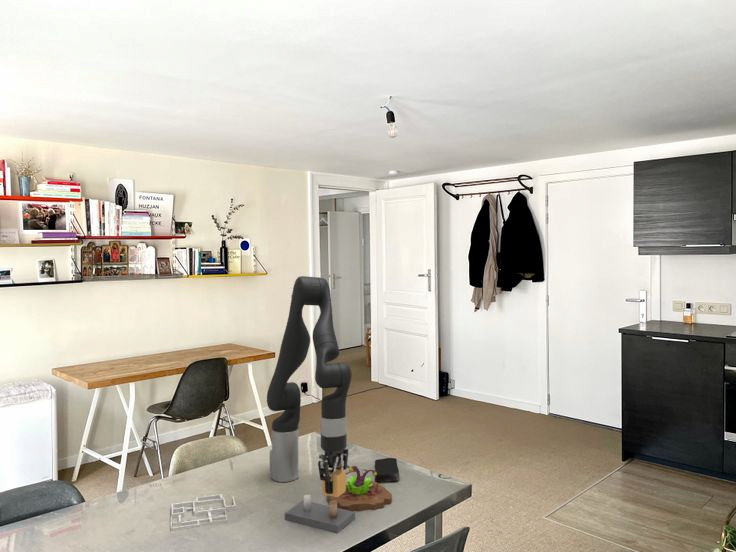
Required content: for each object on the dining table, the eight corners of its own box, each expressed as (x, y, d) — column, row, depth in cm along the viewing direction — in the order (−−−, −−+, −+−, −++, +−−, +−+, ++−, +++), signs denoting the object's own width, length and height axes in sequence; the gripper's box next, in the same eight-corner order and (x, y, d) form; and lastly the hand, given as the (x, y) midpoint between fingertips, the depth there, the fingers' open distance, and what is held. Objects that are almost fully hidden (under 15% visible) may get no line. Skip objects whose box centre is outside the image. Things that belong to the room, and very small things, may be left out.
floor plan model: (230, 490, 189) (230, 484, 189) (238, 522, 165) (238, 516, 165) (171, 497, 183) (171, 491, 183) (170, 532, 159) (170, 525, 159)
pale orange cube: (322, 494, 163) (322, 473, 163) (331, 488, 168) (330, 468, 168) (337, 497, 161) (337, 476, 161) (345, 491, 165) (345, 470, 165)
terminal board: (285, 519, 166) (285, 499, 166) (303, 506, 175) (303, 487, 175) (338, 533, 158) (338, 511, 158) (354, 518, 167) (355, 498, 167)
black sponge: (399, 484, 194) (399, 473, 194) (375, 484, 194) (375, 473, 194) (396, 466, 210) (396, 457, 210) (374, 467, 210) (374, 457, 210)
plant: (319, 492, 187) (319, 458, 186) (373, 483, 194) (373, 451, 194) (339, 517, 168) (339, 480, 168) (398, 507, 176) (398, 471, 176)
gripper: (334, 424, 172) (335, 479, 172) (309, 436, 159) (309, 496, 160) (356, 427, 169) (356, 483, 169) (332, 440, 156) (332, 501, 156)
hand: (333, 489), depth 164 cm, fingers closed on pale orange cube, 5 cm apart
